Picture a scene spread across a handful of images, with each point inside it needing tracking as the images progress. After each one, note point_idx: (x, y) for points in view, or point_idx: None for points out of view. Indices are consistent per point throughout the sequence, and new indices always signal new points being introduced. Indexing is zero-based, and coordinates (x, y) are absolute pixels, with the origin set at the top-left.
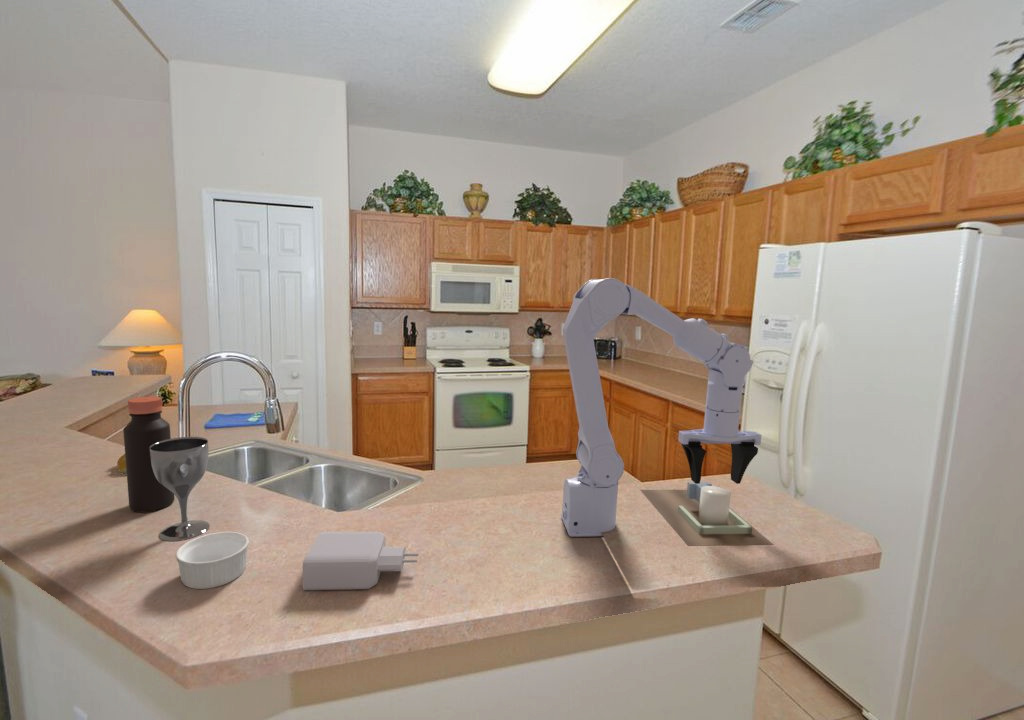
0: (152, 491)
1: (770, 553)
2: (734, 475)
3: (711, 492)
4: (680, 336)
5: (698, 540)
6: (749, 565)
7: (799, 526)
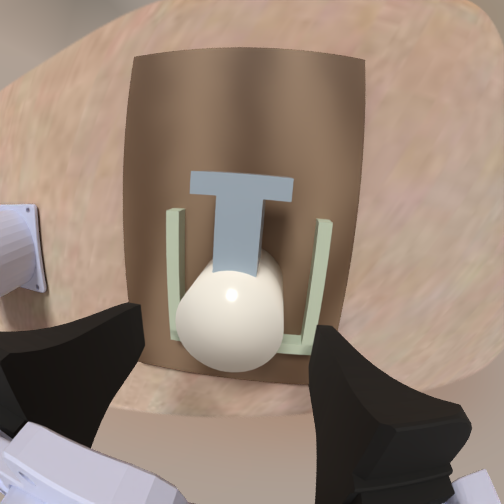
0: None
1: (303, 389)
2: (316, 362)
3: (204, 337)
4: None
5: (164, 351)
6: (233, 411)
7: (460, 294)
